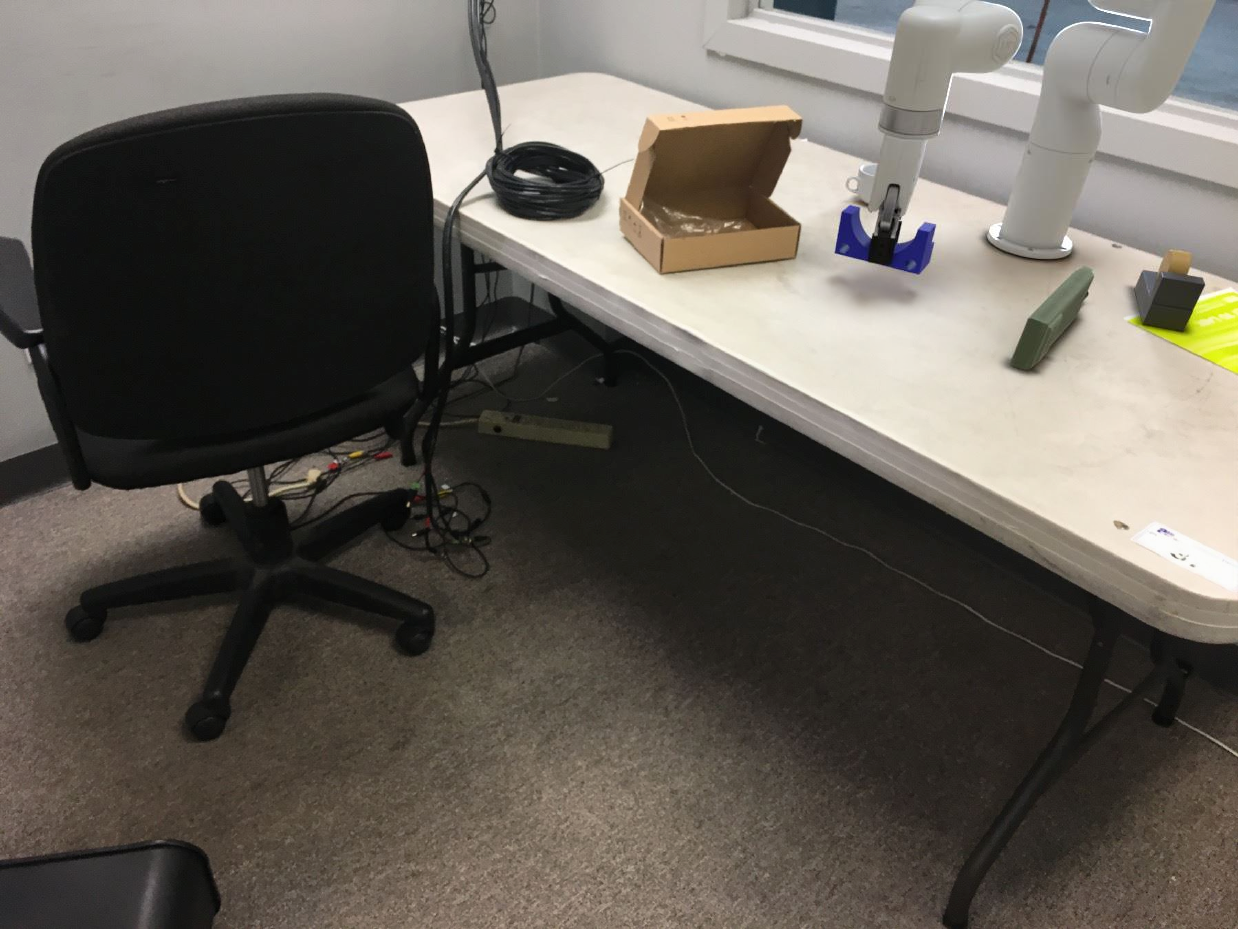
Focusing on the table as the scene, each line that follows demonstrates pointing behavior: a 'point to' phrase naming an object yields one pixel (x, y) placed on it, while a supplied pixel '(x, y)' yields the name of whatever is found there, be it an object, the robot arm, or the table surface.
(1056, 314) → the handheld radio
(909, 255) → the blue semicircular clamp bracket
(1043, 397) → the table surface
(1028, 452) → the table surface
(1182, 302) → the tape dispenser
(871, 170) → the teacup
